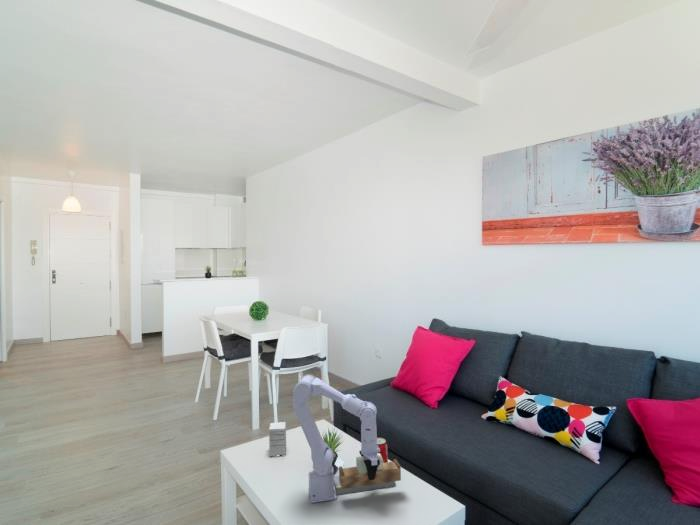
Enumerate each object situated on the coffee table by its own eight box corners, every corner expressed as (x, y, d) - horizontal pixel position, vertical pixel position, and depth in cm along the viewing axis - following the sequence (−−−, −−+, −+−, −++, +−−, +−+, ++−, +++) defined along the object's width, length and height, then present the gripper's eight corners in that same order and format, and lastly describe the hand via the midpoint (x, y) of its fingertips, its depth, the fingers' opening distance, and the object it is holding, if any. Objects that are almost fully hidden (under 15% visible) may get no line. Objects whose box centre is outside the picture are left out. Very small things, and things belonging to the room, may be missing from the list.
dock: (336, 494, 142) (336, 487, 142) (333, 482, 150) (333, 476, 150) (395, 486, 147) (395, 479, 147) (388, 474, 154) (388, 468, 154)
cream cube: (372, 470, 138) (371, 459, 138) (369, 464, 142) (369, 454, 142) (382, 469, 139) (382, 458, 139) (380, 463, 142) (379, 453, 142)
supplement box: (270, 449, 178) (270, 422, 178) (286, 448, 179) (286, 421, 179) (269, 457, 170) (268, 429, 170) (285, 456, 171) (285, 428, 171)
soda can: (387, 474, 155) (386, 445, 155) (369, 473, 156) (369, 443, 156) (388, 465, 162) (388, 437, 162) (372, 464, 163) (371, 436, 163)
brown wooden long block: (341, 489, 135) (341, 474, 135) (339, 481, 139) (339, 466, 139) (400, 480, 139) (400, 465, 139) (396, 473, 144) (396, 459, 144)
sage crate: (359, 473, 136) (358, 462, 136) (356, 467, 140) (356, 456, 140) (369, 471, 137) (369, 460, 137) (366, 466, 141) (366, 455, 141)
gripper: (385, 445, 133) (386, 484, 133) (374, 428, 147) (374, 463, 147) (365, 448, 132) (366, 487, 132) (356, 430, 146) (357, 466, 146)
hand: (369, 475), depth 139 cm, fingers closed on brown wooden long block, 5 cm apart
